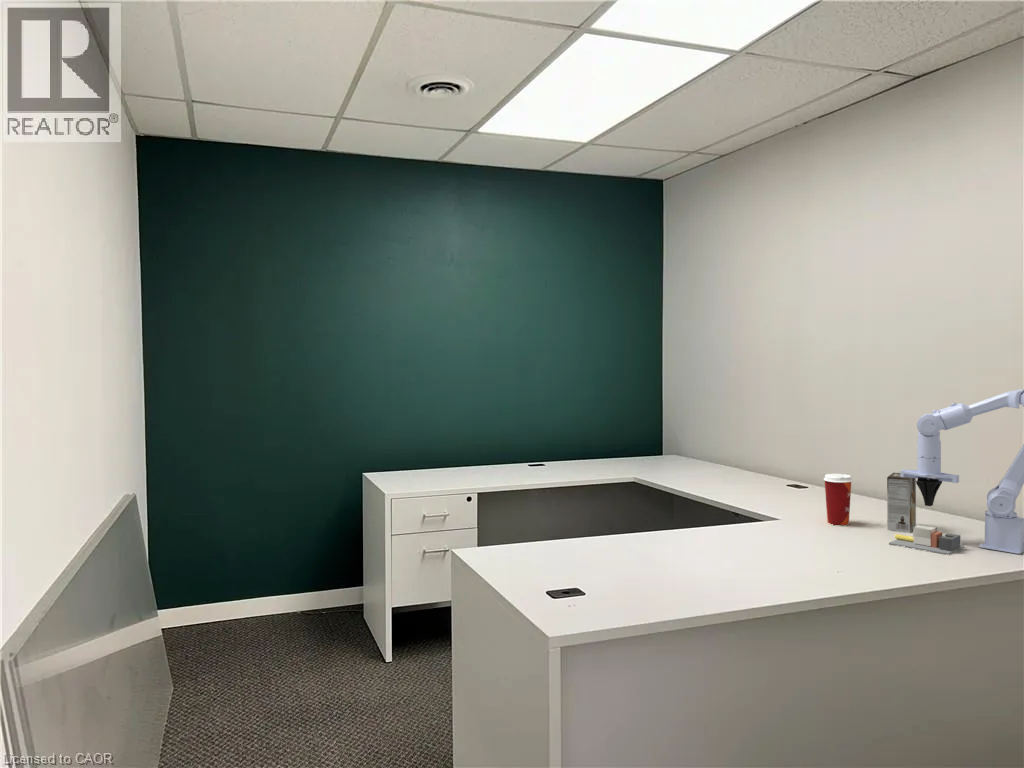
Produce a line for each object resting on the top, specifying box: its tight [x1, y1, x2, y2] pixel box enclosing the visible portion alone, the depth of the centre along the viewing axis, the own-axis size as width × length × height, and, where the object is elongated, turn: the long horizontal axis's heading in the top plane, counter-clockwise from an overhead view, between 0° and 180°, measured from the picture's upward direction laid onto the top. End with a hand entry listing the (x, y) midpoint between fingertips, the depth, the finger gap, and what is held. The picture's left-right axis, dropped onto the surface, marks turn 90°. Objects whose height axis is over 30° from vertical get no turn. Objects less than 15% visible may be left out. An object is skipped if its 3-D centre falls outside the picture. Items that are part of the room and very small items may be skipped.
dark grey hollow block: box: [939, 532, 961, 552], centre depth 199 cm, size 4×6×3 cm, turn 130°
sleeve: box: [912, 524, 938, 546], centre depth 203 cm, size 4×4×4 cm
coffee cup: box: [823, 473, 853, 526], centre depth 229 cm, size 8×8×15 cm
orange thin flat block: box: [931, 530, 943, 548], centre depth 201 cm, size 1×4×4 cm, turn 130°
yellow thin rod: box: [894, 533, 939, 545], centre depth 204 cm, size 13×1×1 cm, turn 40°
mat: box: [888, 539, 965, 556], centre depth 203 cm, size 15×11×1 cm
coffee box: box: [886, 472, 917, 533], centre depth 222 cm, size 9×6×16 cm
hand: (929, 505), depth 207 cm, fingers closed
